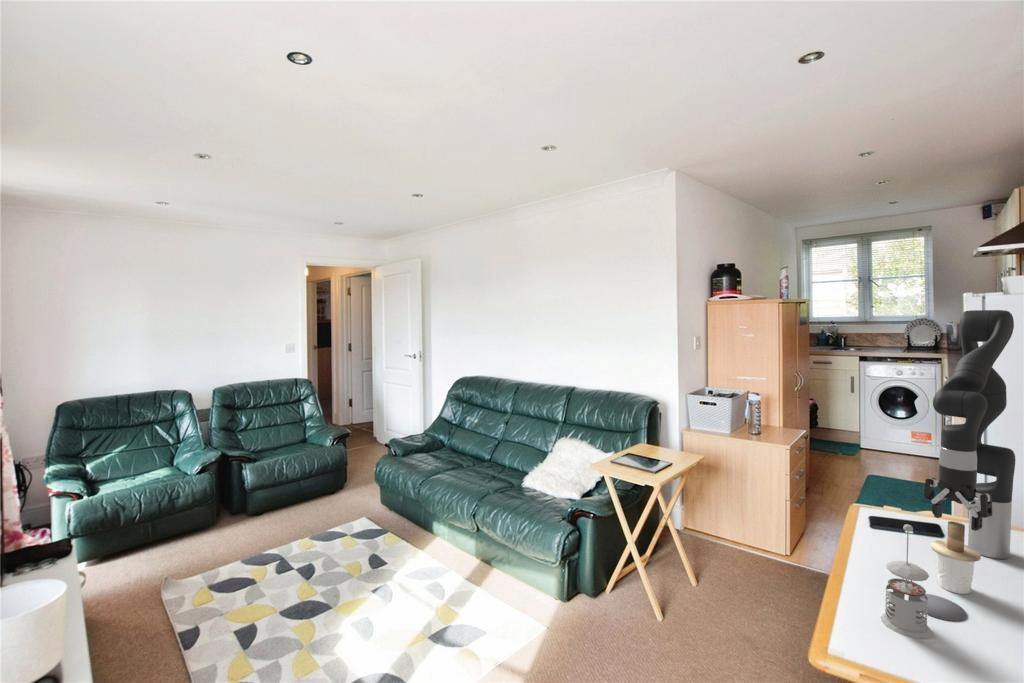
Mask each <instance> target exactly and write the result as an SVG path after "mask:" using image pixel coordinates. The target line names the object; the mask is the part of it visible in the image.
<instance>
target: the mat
mask: <svg viewBox="0 0 1024 683" xmlns="http://www.w3.org/2000/svg"><path fill="white" fill-rule="evenodd" d="M925 595H926V596H927V598H928V604H927V606H928V607H926V608H927V612H926V613H927V614H928V615H927V616H930V617H932V616H933V618H935V619H940V620H944V621H949V622H958V621H960V622H961V621H963V620H965V619H966V617H967V612H966V611H965V609H964V608H963V607H961V605H959V604H957V603H955V602H954V601H952V600H950V599H947V598H945V597H942V596H939V595H935V594H931V593H930V594H929V593H925ZM921 600H923V601H926V599H924V598H921ZM923 611H924V612H925V611H926V610H925V609H924V610H923Z"/></svg>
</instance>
